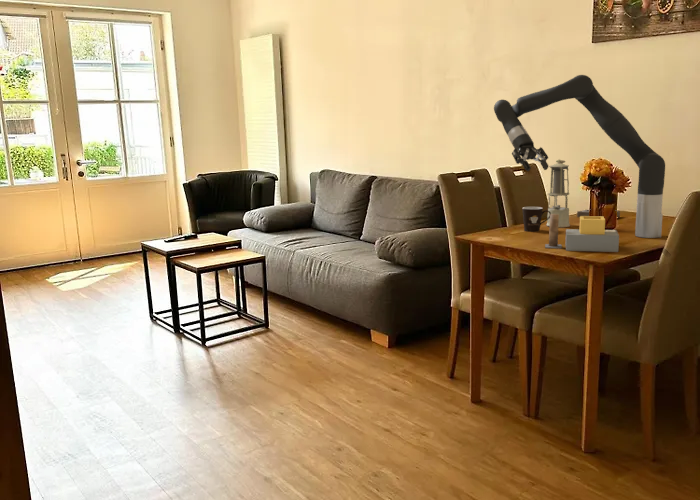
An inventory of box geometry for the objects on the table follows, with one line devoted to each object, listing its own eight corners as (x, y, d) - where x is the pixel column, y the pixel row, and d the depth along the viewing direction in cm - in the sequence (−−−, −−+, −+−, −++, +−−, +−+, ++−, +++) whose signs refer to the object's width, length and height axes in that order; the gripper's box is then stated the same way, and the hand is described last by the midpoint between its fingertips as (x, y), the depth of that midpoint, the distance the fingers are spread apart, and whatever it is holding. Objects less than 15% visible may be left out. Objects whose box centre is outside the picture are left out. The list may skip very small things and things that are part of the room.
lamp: (543, 226, 289) (544, 160, 284) (552, 222, 300) (554, 158, 294) (566, 228, 284) (568, 160, 278) (574, 223, 294) (577, 158, 288)
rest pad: (561, 245, 246) (561, 244, 246) (561, 248, 241) (561, 247, 241) (545, 245, 248) (545, 244, 248) (545, 248, 242) (545, 247, 242)
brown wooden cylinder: (557, 245, 245) (558, 214, 243) (557, 246, 242) (558, 215, 240) (548, 244, 246) (549, 214, 244) (548, 246, 243) (549, 215, 241)
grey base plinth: (615, 245, 243) (616, 215, 241) (618, 251, 232) (619, 220, 229) (565, 244, 248) (566, 215, 246) (566, 250, 237) (567, 219, 235)
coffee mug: (519, 231, 279) (520, 208, 277) (524, 228, 286) (524, 206, 284) (547, 233, 273) (547, 209, 271) (550, 229, 281) (551, 207, 279)
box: (611, 219, 301) (611, 212, 301) (576, 217, 313) (576, 211, 313) (620, 217, 309) (620, 210, 308) (585, 215, 321) (586, 209, 320)
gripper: (510, 133, 255) (527, 163, 247) (539, 132, 260) (557, 161, 252) (501, 146, 261) (518, 176, 253) (530, 145, 266) (547, 174, 258)
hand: (538, 169), depth 252 cm, fingers open, 8 cm apart
